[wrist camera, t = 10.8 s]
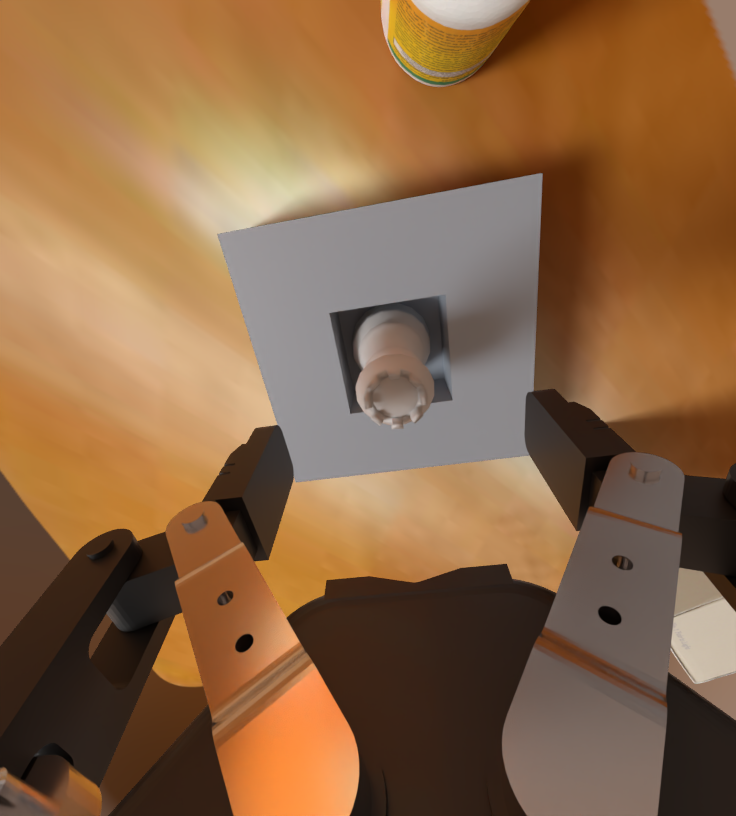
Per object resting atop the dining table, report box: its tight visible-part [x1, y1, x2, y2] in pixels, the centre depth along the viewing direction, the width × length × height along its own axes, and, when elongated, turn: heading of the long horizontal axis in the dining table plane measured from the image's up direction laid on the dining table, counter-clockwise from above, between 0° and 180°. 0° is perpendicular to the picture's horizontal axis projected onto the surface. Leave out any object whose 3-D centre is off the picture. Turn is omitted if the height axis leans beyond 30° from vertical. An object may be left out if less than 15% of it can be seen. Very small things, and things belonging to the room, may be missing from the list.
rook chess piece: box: [352, 303, 434, 429], centre depth 18 cm, size 4×4×8 cm
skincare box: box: [670, 568, 736, 684], centre depth 21 cm, size 6×4×12 cm
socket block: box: [217, 173, 543, 482], centre depth 21 cm, size 14×14×4 cm
